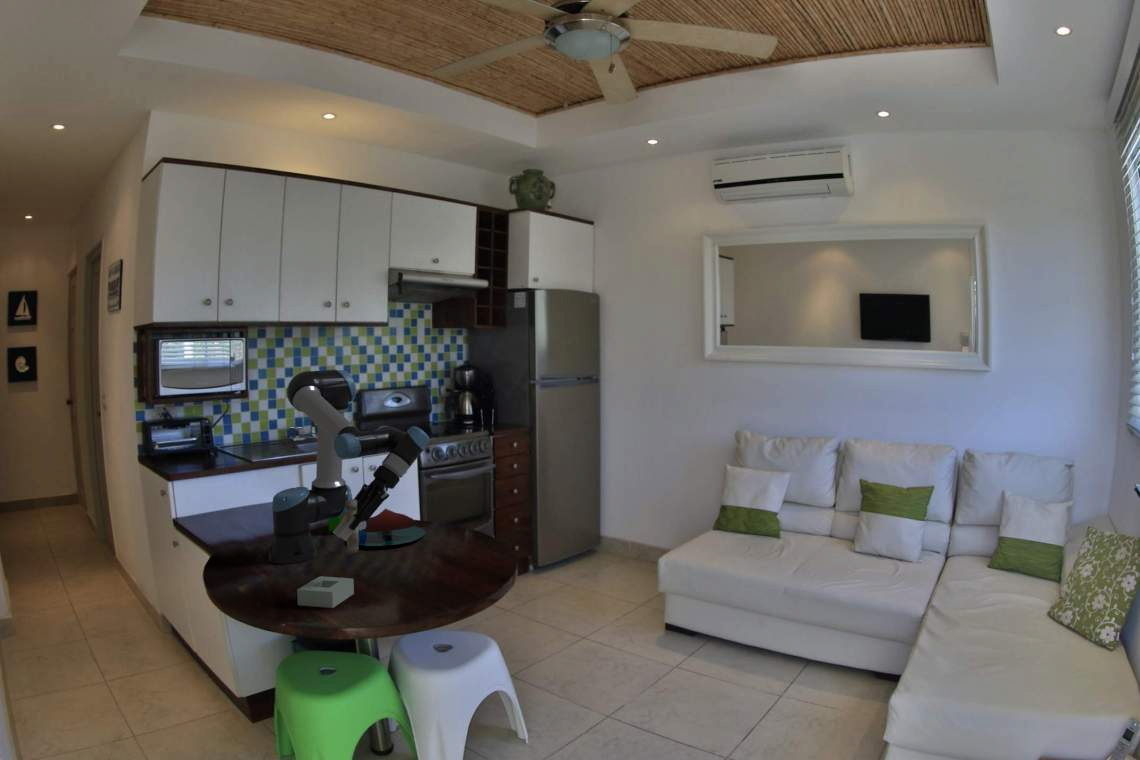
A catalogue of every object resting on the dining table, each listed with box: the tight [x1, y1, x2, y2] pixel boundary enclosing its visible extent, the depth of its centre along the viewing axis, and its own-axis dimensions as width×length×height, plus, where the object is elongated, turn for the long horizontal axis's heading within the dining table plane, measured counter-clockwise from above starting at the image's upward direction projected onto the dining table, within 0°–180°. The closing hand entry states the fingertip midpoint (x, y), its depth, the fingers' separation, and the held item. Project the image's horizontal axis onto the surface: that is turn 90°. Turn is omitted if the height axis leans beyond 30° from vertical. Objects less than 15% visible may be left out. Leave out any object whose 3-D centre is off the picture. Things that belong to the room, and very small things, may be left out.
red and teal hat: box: [358, 508, 426, 547], centre depth 254 cm, size 28×28×11 cm
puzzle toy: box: [328, 514, 367, 533], centre depth 268 cm, size 10×10×10 cm
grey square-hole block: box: [296, 575, 355, 609], centre depth 194 cm, size 11×11×4 cm
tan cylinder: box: [345, 498, 360, 554], centre depth 197 cm, size 3×3×15 cm
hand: (339, 536), depth 194 cm, fingers closed on tan cylinder, 3 cm apart
